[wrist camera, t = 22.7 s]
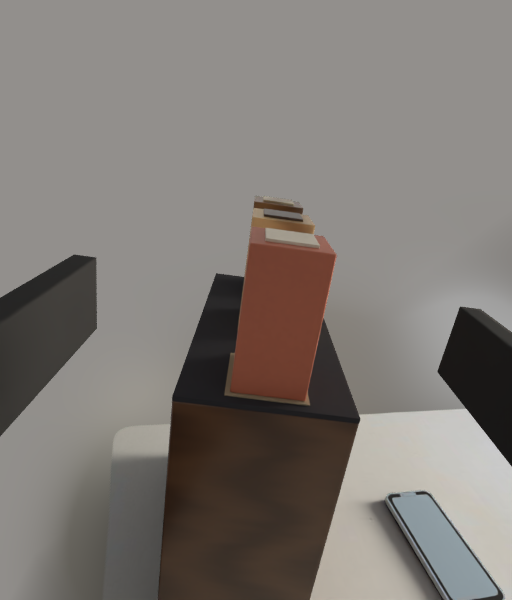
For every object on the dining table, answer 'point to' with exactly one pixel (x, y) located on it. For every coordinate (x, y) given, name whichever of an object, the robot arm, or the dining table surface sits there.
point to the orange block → (281, 312)
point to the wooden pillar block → (280, 223)
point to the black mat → (220, 357)
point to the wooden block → (277, 204)
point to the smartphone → (442, 548)
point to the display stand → (248, 502)
